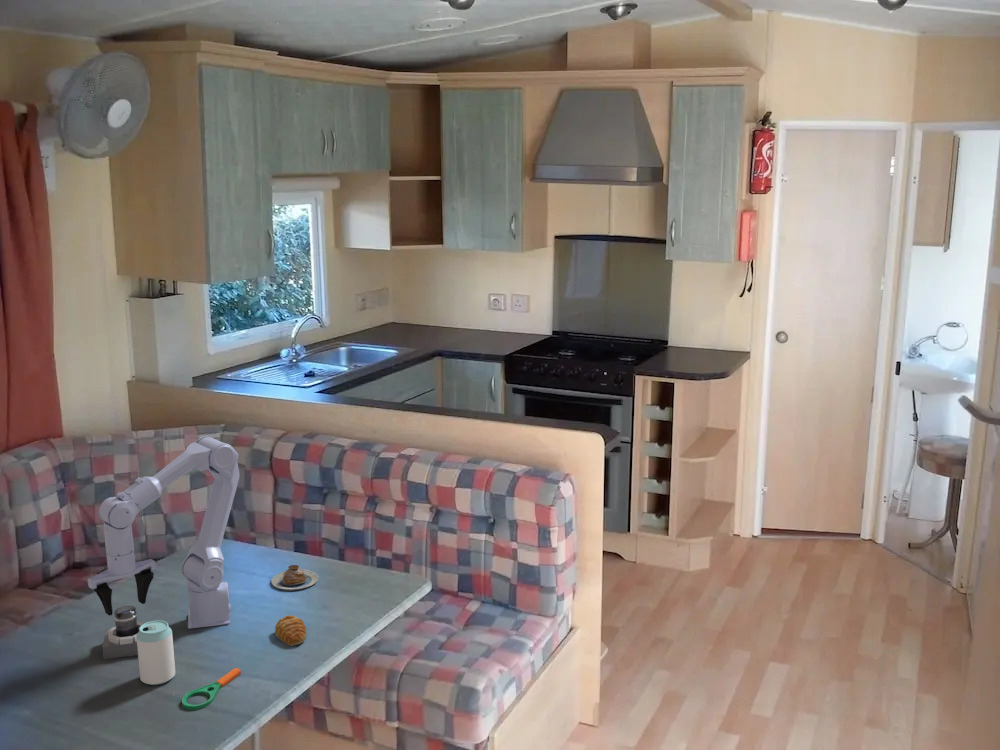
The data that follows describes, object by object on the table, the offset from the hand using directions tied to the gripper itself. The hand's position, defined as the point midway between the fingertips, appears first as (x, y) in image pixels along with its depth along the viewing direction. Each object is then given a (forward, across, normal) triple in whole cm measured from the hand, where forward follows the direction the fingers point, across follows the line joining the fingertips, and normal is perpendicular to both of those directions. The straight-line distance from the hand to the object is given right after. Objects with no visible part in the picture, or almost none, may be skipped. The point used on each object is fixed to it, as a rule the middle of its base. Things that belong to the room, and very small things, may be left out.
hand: (125, 608), depth 216 cm
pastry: (+10, -29, +22) cm, 37 cm away
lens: (+7, 0, 0) cm, 7 cm away
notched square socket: (+10, 0, 0) cm, 10 cm away
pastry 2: (+10, -46, -2) cm, 47 cm away
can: (+10, +2, +17) cm, 20 cm away
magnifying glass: (+10, -4, +30) cm, 32 cm away
